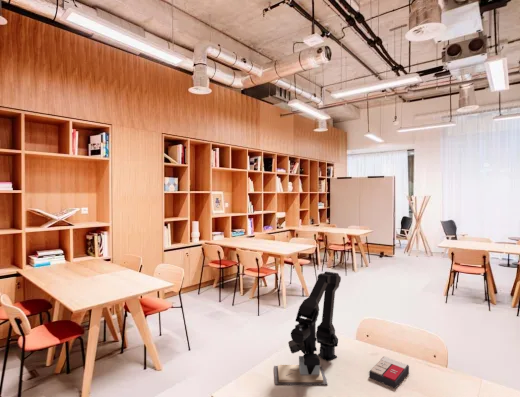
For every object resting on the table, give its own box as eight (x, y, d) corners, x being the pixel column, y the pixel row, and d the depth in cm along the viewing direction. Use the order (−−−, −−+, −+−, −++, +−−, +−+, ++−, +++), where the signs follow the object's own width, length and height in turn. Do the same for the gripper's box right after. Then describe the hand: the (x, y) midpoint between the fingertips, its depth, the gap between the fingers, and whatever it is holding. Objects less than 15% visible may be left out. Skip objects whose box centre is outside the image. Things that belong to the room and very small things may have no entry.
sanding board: (321, 367, 139) (321, 363, 139) (327, 385, 126) (327, 381, 126) (274, 367, 140) (274, 363, 140) (275, 385, 127) (275, 381, 127)
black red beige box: (368, 369, 132) (383, 354, 142) (369, 379, 132) (383, 363, 143) (395, 380, 124) (409, 363, 135) (395, 391, 124) (409, 373, 135)
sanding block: (317, 368, 135) (317, 356, 135) (319, 375, 130) (319, 362, 130) (299, 368, 136) (298, 356, 135) (300, 375, 131) (300, 362, 130)
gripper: (287, 324, 142) (288, 358, 142) (291, 344, 123) (291, 383, 124) (312, 324, 142) (312, 358, 142) (320, 344, 123) (320, 383, 124)
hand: (308, 370), depth 133 cm, fingers closed on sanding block, 5 cm apart
